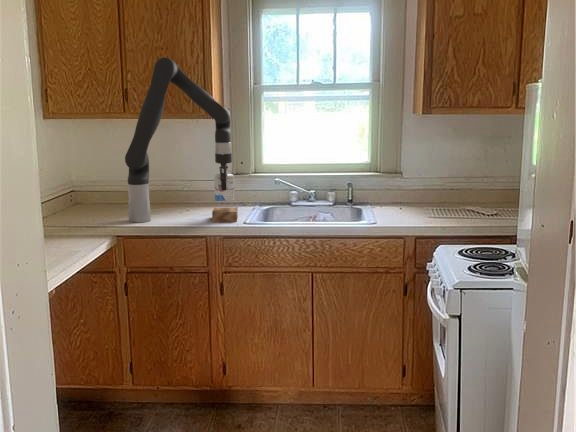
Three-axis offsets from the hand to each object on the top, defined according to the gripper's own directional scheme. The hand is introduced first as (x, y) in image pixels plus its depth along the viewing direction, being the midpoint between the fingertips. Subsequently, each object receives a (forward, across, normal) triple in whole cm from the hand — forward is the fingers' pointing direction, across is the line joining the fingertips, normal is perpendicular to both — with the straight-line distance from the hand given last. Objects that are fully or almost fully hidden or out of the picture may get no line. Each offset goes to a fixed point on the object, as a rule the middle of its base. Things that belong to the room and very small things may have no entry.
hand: (224, 189), depth 266 cm
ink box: (+5, 0, 0) cm, 5 cm away
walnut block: (+15, 0, 0) cm, 15 cm away
